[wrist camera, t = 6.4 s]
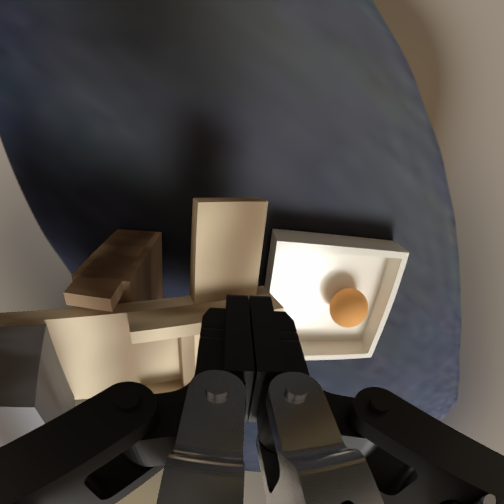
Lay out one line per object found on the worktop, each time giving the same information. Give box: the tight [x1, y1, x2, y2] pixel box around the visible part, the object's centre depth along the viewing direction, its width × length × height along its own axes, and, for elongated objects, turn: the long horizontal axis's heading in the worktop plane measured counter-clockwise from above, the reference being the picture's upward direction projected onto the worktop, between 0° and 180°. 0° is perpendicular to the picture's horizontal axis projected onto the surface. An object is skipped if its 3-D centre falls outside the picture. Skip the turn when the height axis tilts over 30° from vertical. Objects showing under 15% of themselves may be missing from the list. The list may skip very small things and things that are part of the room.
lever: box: [0, 197, 284, 447], centre depth 13 cm, size 20×13×7 cm, turn 84°
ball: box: [329, 288, 368, 328], centre depth 25 cm, size 4×4×4 cm
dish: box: [264, 229, 409, 360], centre depth 25 cm, size 12×12×3 cm
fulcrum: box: [64, 229, 164, 312], centre depth 20 cm, size 4×10×10 cm, turn 174°
